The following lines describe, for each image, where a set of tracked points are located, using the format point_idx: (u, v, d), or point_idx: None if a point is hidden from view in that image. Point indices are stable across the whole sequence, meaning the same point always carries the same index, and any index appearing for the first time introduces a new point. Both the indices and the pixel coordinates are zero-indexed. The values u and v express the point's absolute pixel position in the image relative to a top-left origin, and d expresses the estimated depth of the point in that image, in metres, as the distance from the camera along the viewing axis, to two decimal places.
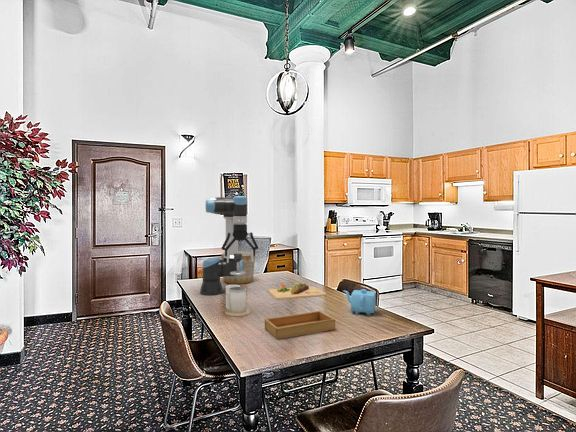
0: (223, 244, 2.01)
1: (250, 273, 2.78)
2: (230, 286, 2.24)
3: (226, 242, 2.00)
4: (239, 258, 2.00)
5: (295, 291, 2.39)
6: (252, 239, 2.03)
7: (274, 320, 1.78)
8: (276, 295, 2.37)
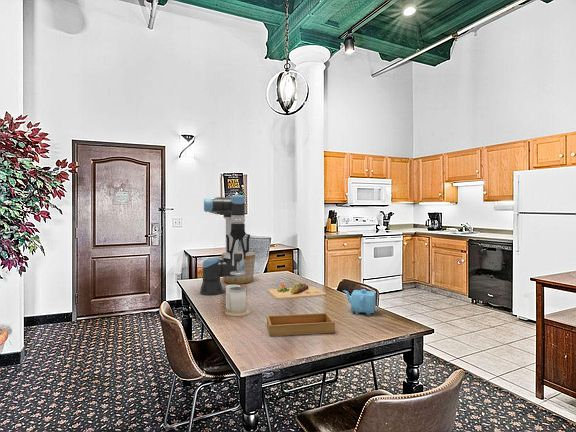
0: (226, 247, 2.00)
1: (250, 273, 2.78)
2: (230, 286, 2.24)
3: (228, 244, 1.99)
4: (239, 258, 2.00)
5: (295, 291, 2.39)
6: (247, 241, 2.02)
7: (276, 318, 1.82)
8: (276, 295, 2.36)
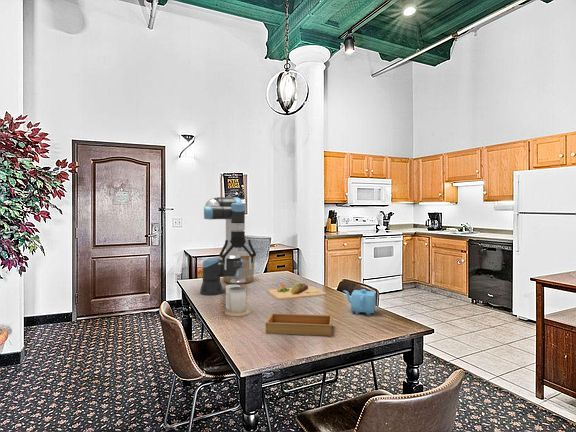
0: (221, 251, 2.00)
1: (250, 273, 2.78)
2: (230, 286, 2.24)
3: (224, 249, 1.99)
4: (239, 266, 2.00)
5: (296, 291, 2.39)
6: (250, 246, 2.02)
7: (280, 316, 1.85)
8: (277, 295, 2.36)
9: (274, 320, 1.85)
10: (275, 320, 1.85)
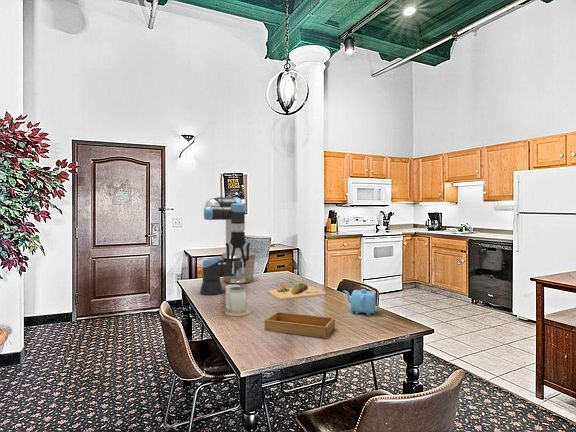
0: (226, 255, 2.00)
1: (250, 273, 2.78)
2: (230, 286, 2.24)
3: (228, 252, 1.99)
4: (239, 266, 2.00)
5: (296, 291, 2.39)
6: (247, 249, 2.02)
7: (284, 315, 1.87)
8: (278, 295, 2.35)
9: (279, 318, 1.88)
10: (280, 318, 1.88)
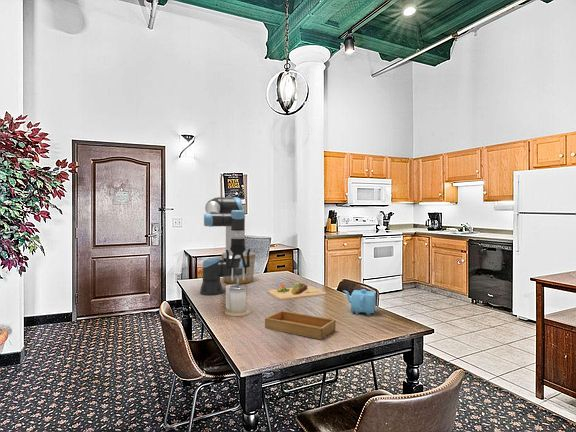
0: (226, 262, 2.00)
1: (250, 273, 2.78)
2: None
3: (228, 259, 2.00)
4: (239, 273, 2.00)
5: (297, 291, 2.39)
6: (247, 256, 2.02)
7: (288, 314, 1.88)
8: (278, 296, 2.35)
9: (283, 317, 1.90)
10: (284, 317, 1.89)
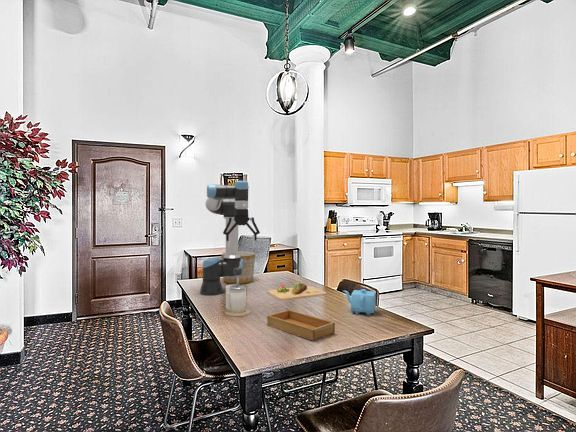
0: None
1: (250, 273, 2.78)
2: None
3: (227, 227, 2.01)
4: (239, 273, 2.00)
5: (297, 291, 2.39)
6: (253, 224, 2.04)
7: (293, 313, 1.89)
8: (279, 296, 2.35)
9: (289, 316, 1.91)
10: (290, 317, 1.91)
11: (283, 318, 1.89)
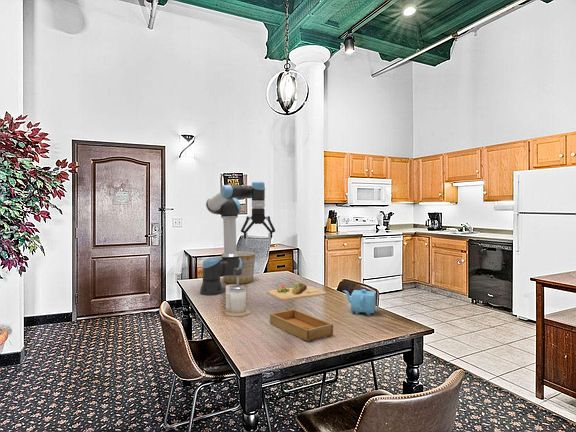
0: (242, 227, 2.12)
1: (250, 273, 2.78)
2: None
3: (245, 225, 2.11)
4: (239, 273, 2.00)
5: (297, 291, 2.39)
6: (269, 222, 2.15)
7: (297, 313, 1.89)
8: (279, 296, 2.34)
9: (294, 316, 1.92)
10: (295, 316, 1.91)
11: (287, 317, 1.90)
